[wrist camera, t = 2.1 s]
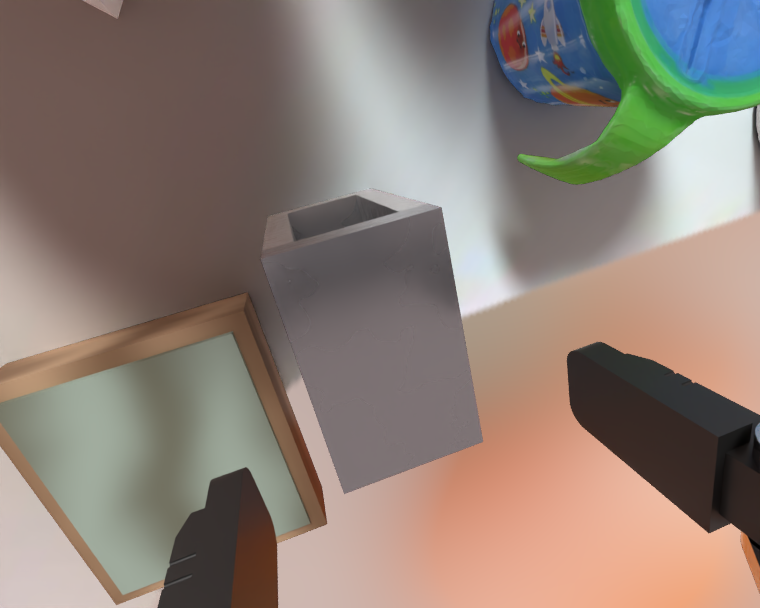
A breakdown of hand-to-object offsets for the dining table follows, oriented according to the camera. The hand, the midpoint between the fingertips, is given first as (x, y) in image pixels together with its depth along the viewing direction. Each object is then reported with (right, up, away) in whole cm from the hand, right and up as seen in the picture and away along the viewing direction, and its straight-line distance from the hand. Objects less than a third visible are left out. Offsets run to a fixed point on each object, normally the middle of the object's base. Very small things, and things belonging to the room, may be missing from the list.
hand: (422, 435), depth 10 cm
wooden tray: (-12, -4, +14) cm, 19 cm away
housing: (-3, +4, +13) cm, 14 cm away
